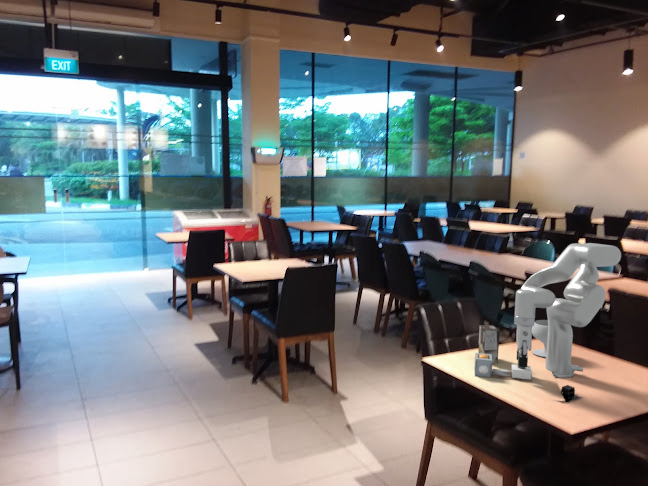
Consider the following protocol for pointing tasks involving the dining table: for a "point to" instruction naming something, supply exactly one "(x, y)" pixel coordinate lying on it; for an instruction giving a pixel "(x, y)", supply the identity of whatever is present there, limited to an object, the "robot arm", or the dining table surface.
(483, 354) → the button
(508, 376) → the rail board
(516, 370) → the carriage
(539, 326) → the chalice
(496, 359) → the coffee box
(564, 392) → the black slotted bracket
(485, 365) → the grey open box
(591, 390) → the dining table surface
